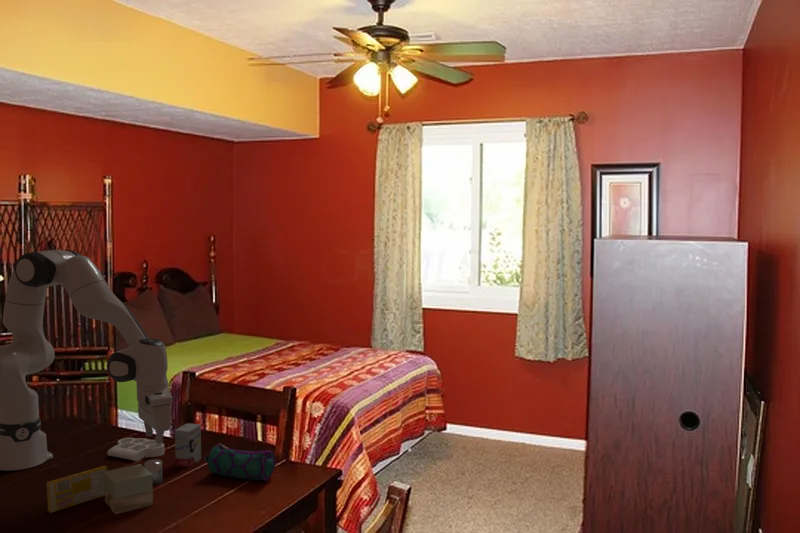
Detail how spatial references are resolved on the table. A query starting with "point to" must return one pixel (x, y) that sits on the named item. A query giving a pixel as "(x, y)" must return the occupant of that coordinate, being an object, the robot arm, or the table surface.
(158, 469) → the metal cylinder
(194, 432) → the ink box
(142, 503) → the birch block
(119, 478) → the sage block
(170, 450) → the table surface
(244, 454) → the pencil case
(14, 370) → the robot arm
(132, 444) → the knuckle duster
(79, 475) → the candy box
